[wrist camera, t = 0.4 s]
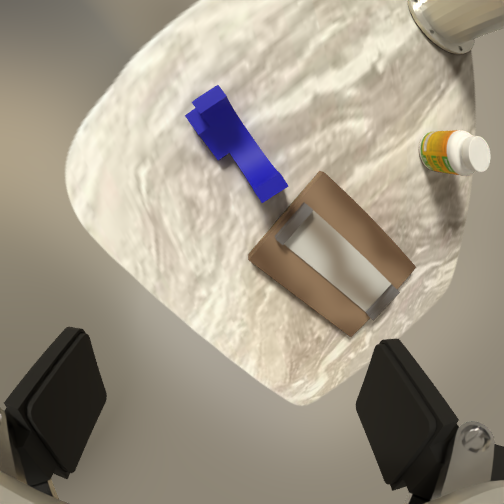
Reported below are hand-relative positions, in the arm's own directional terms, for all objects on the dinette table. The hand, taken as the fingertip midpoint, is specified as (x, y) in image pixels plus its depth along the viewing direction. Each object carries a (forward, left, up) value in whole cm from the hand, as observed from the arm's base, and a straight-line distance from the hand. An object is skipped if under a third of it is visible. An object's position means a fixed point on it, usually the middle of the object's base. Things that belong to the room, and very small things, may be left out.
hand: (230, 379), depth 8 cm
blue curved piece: (-5, -5, -27) cm, 28 cm away
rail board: (-3, +13, -27) cm, 30 cm away
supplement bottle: (-23, +14, -27) cm, 38 cm away
